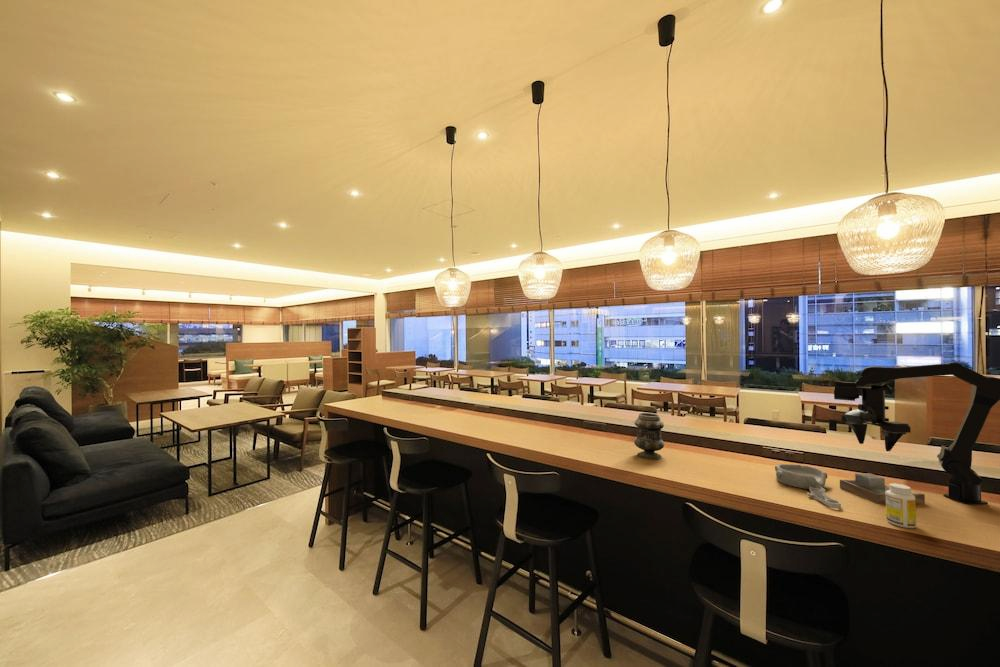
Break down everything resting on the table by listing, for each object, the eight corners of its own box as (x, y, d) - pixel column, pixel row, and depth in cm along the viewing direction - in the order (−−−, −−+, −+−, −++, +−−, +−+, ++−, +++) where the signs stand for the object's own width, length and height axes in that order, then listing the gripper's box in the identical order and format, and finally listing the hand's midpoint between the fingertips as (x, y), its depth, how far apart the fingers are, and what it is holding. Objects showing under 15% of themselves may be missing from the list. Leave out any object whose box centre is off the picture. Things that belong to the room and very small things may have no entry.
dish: (828, 483, 130) (828, 469, 130) (824, 494, 120) (823, 478, 120) (777, 473, 140) (777, 460, 140) (769, 482, 131) (769, 468, 131)
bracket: (836, 489, 121) (841, 503, 109) (836, 495, 121) (841, 510, 109) (806, 483, 126) (808, 497, 114) (806, 489, 125) (808, 503, 114)
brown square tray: (882, 487, 127) (881, 479, 127) (924, 503, 114) (924, 494, 114) (839, 487, 126) (839, 479, 127) (878, 503, 114) (877, 494, 114)
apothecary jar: (669, 457, 160) (669, 414, 161) (654, 462, 153) (654, 418, 153) (644, 450, 170) (643, 410, 170) (628, 455, 162) (628, 413, 163)
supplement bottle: (912, 523, 102) (912, 485, 102) (919, 531, 97) (918, 491, 97) (884, 517, 105) (883, 480, 105) (888, 525, 100) (888, 486, 101)
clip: (870, 488, 123) (870, 473, 123) (884, 494, 118) (884, 478, 118) (855, 488, 123) (855, 473, 123) (869, 494, 118) (869, 478, 118)
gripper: (826, 398, 140) (827, 440, 140) (878, 407, 122) (879, 455, 121) (856, 398, 141) (857, 440, 140) (911, 407, 122) (912, 455, 122)
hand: (874, 447), depth 131 cm, fingers open, 9 cm apart
